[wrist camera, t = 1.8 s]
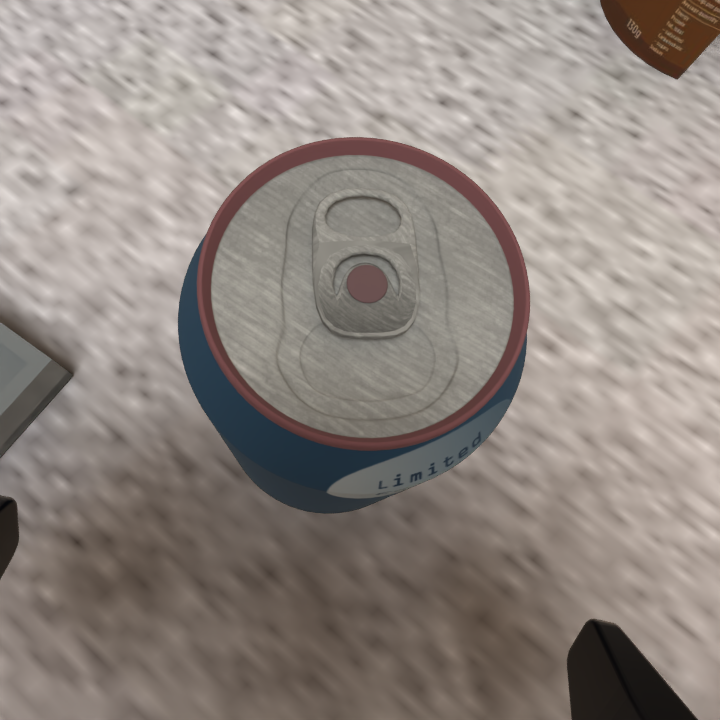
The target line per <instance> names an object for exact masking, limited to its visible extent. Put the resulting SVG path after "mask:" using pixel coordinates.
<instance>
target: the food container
mask: <svg viewBox="0 0 720 720" xmlns="http://www.w3.org/2000/svg"><path fill="white" fill-rule="evenodd" d="M600 2H601V6H602V9H603V11H604V14H605V17H606V18H607V20H608V22H609V24H610V25H611V27H612V29H613V30H614V32H615V33H616V34H617V36H618V37H619V38H620V39H621V41H622V42H623V43H624V44H625V45H626V46H627V47H628V48H629V49H630V50H631V51H632V52H633V53H634V54H636V55H637V56H638V57H639V58H641V59H642V60H643V61H644V62H646V63H647V64H649V65H650V66H652V67H654V68H655V69H657V70H659V71H660V72H662V73H664V74H667V75H669V76H671V77H673V78H675V79H678V78H679V77H680V76H681V75H682V74H683V73H684V72H685V71H686V70H687V69H688V67H689V66H690V65H691V64H692V63H693V62H694V61H695V60H696V59H697V58H698V57H699V55H700V54H701V53H702V52H703V51H704V50H705V49H706V48H707V47H708V46H709V45H710V44H711V42H712V41H713V40H714V39H715V38H716V37H717V36H718V35H719V34H720V0H600Z"/></svg>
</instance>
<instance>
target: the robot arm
mask: <svg viewBox="0 0 720 720" xmlns="http://www.w3.org/2000/svg"><path fill="white" fill-rule="evenodd" d="M18 542H19V526H18V512H17V503H16V501H15V500H14V499H13V498H11V497H6V496H1V495H0V579H1V577H2V575H3V574H4V572H5V570H6V568H7V566H8V564H9V563H10V561H11V559H12V557H13V555H14V553H15V551H16V549H17V546H18ZM567 671H568V683H569V694H570V705H571V716H572V720H698V719H697V718H696V717H695V715H694V714H693V713H692V712H691V711H690V710H689V708H688V707H687V706H686V705H685V704H684V703H683V701H682V700H681V699H680V698H679V697H678V695H677V694H676V693H675V692H674V691H673V690H672V688H671V687H670V686H669V685H668V684H667V682H666V681H665V680H664V679H663V678H662V677H661V675H660V674H659V673H658V672H657V671H656V669H655V668H654V667H653V666H652V665H651V664H650V662H649V661H648V660H647V659H646V658H645V656H644V655H643V654H642V653H641V652H640V651H639V649H638V648H637V647H636V646H635V645H634V644H633V642H632V641H631V640H630V639H629V638H628V636H627V635H626V634H625V633H624V632H623V631H622V629H621V628H620V627H619V626H617V625H616V624H614V623H611V622H607V621H602V620H597V619H590V620H588V621H587V622H586V623H585V625H584V626H583V628H582V630H581V631H580V633H579V635H578V636H577V638H576V640H575V641H574V643H573V645H572V646H571V648H570V650H569V653H568V658H567Z"/></svg>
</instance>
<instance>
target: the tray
mask: <svg viewBox="0 0 720 720" xmlns="http://www.w3.org/2000/svg"><path fill="white" fill-rule="evenodd" d="M72 376H73V375H72V374H71V373H69V372H68V371H67V370H65V369H64V368H63V367H61V366H60V365H59V364H57V363H56V362H55V361H53V360H52V359H51V358H49V357H48V356H47V355H45V354H44V353H42V352H41V351H40V350H38V349H37V348H35V347H34V346H33V345H31V344H30V343H29V342H27V341H26V340H24V339H23V338H22V337H20V336H19V335H17V334H16V333H15V332H13V331H12V330H10V329H9V328H8V327H6V326H5V325H4V324H2V323H1V322H0V457H1V456H2V455H3V454H4V453H5V452H6V450H7V449H8V448H9V447H10V446H11V445H12V444H13V443H14V442H15V440H16V439H17V438H18V437H19V436H20V435H21V434H22V433H23V431H24V430H25V429H26V428H27V427H28V426H29V425H30V424H31V422H32V421H33V420H34V419H35V418H36V417H37V416H38V415H39V413H40V412H41V411H42V410H43V409H44V408H45V407H46V406H47V404H48V403H49V402H50V401H51V400H52V399H53V398H54V397H55V396H56V394H57V393H58V392H59V391H60V390H61V389H62V388H63V387H64V385H65V384H66V383H67V382H68V381H69V380H70V379H71V378H72Z"/></svg>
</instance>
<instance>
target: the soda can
mask: <svg viewBox="0 0 720 720" xmlns="http://www.w3.org/2000/svg"><path fill="white" fill-rule="evenodd" d="M529 314H530V291H529V281H528V276H527V270H526V266H525V263H524V259H523V256H522V253H521V250H520V247H519V244H518V242H517V240H516V237H515V235H514V233H513V231H512V229H511V227H510V225H509V224H508V222H507V221H506V219H505V217H504V216H503V214H502V213H501V211H500V210H499V209H498V207H497V206H496V205H495V203H494V202H493V201H492V200H491V199H490V197H489V196H488V195H487V194H486V193H485V192H484V191H483V190H482V189H481V188H480V187H479V186H478V185H477V184H476V183H475V182H473V181H472V180H471V179H470V178H469V177H467V176H466V175H465V174H464V173H462V172H461V171H459V170H458V169H457V168H455V167H454V166H452V165H450V164H449V163H447V162H445V161H444V160H442V159H440V158H438V157H436V156H434V155H432V154H430V153H428V152H425V151H423V150H420V149H418V148H415V147H412V146H409V145H405V144H402V143H398V142H394V141H389V140H383V139H376V138H363V137H347V138H335V139H328V140H322V141H317V142H313V143H309V144H306V145H302V146H300V147H297V148H294V149H291V150H289V151H287V152H285V153H282V154H280V155H278V156H276V157H275V158H273V159H271V160H269V161H268V162H266V163H265V164H263V165H261V166H260V167H259V168H257V169H256V170H255V171H253V172H252V173H251V174H249V175H248V176H247V177H246V178H245V179H244V180H243V181H242V182H241V183H240V184H239V185H238V186H237V187H236V188H235V189H234V190H233V191H232V192H231V193H230V195H229V196H228V197H227V198H226V200H225V201H224V202H223V204H222V205H221V207H220V208H219V210H218V211H217V213H216V215H215V217H214V219H213V220H212V222H211V225H210V227H209V229H208V231H207V234H206V235H205V237H204V238H203V240H202V241H201V243H200V244H199V246H198V248H197V250H196V252H195V253H194V256H193V258H192V260H191V262H190V265H189V267H188V270H187V273H186V276H185V279H184V283H183V287H182V291H181V296H180V302H179V313H178V334H179V344H180V350H181V356H182V360H183V364H184V368H185V371H186V374H187V377H188V380H189V383H190V385H191V387H192V389H193V392H194V394H195V396H196V398H197V400H198V401H199V403H200V405H201V407H202V409H203V410H204V412H205V413H206V415H207V416H208V417H209V419H210V420H211V422H212V423H213V425H214V426H215V428H216V429H217V431H218V432H219V434H220V435H221V437H222V438H223V440H224V441H225V443H226V444H227V446H228V447H229V449H230V450H231V452H232V453H233V455H234V456H235V458H236V459H237V461H238V462H239V464H240V465H241V467H242V468H243V470H244V471H245V472H246V474H247V475H248V476H249V477H250V478H251V480H252V481H253V482H254V483H255V484H256V485H257V486H259V487H260V488H261V489H262V490H263V491H265V492H266V493H267V494H268V495H270V496H272V497H273V498H275V499H276V500H278V501H280V502H282V503H284V504H286V505H289V506H291V507H294V508H297V509H300V510H304V511H309V512H315V513H342V512H349V511H353V510H357V509H360V508H363V507H366V506H368V505H371V504H373V503H376V502H378V501H380V500H383V499H385V498H387V497H390V496H392V495H395V494H397V493H399V492H402V491H404V490H406V489H409V488H411V487H413V486H416V485H418V484H421V483H423V482H425V481H428V480H430V479H432V478H435V477H437V476H438V475H440V474H442V473H444V472H446V471H448V470H449V469H451V468H452V467H454V466H456V465H457V464H459V463H460V462H461V461H463V460H464V459H465V458H467V457H468V456H469V455H470V454H471V453H473V452H474V451H475V450H476V449H477V448H478V447H479V446H480V445H481V444H482V443H483V442H484V441H485V440H486V439H487V438H488V437H489V435H490V434H491V433H492V432H493V430H494V429H495V428H496V426H497V425H498V424H499V422H500V421H501V419H502V418H503V416H504V414H505V413H506V411H507V409H508V407H509V405H510V404H511V402H512V399H513V397H514V395H515V393H516V390H517V387H518V385H519V382H520V379H521V375H522V371H523V367H524V362H525V356H526V345H527V329H528V322H529Z"/></svg>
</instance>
